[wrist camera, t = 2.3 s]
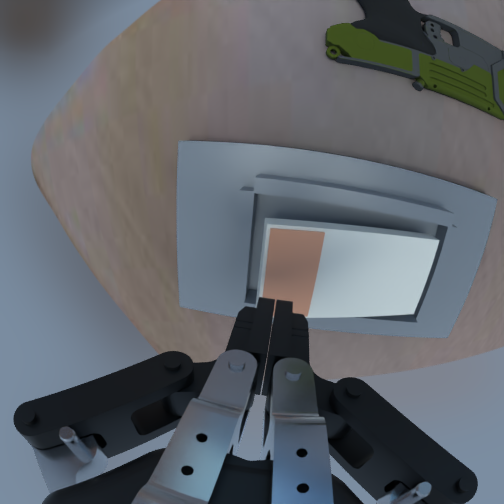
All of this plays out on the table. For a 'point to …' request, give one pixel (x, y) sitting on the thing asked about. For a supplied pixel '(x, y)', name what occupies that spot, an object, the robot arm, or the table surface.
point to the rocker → (343, 268)
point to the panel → (318, 210)
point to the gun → (422, 53)
